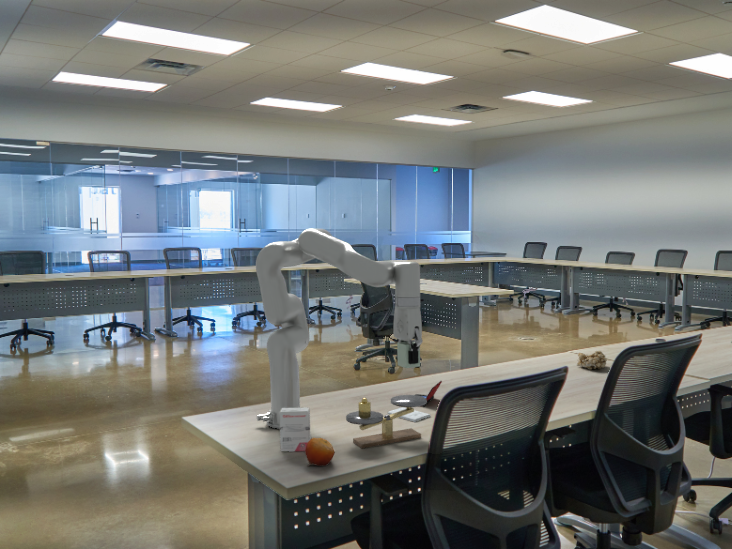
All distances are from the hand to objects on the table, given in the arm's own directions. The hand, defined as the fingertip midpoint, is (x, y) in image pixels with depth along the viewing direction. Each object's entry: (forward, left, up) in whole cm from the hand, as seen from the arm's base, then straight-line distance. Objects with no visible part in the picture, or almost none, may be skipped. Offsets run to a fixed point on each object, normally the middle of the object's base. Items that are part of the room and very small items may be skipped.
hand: (408, 361), depth 184 cm
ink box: (-35, +6, -24) cm, 42 cm away
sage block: (0, 0, -1) cm, 1 cm away
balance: (-8, 0, -23) cm, 24 cm away
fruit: (-33, -8, -24) cm, 41 cm away
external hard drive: (+10, +18, -24) cm, 32 cm away
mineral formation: (+119, +40, -24) cm, 127 cm away
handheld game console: (+24, +30, -24) cm, 45 cm away
